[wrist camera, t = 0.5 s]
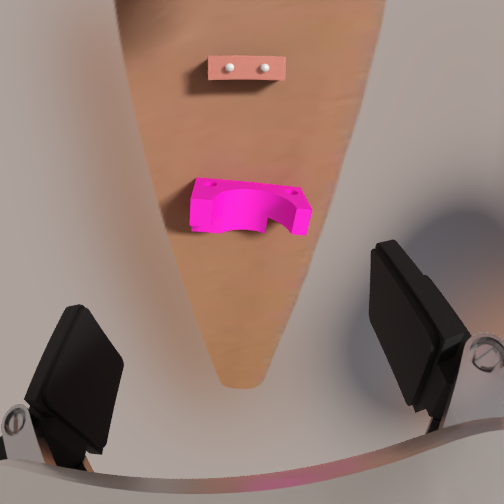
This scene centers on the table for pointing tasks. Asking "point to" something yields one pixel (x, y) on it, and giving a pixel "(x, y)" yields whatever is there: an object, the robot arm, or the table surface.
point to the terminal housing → (246, 67)
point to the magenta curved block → (247, 206)
